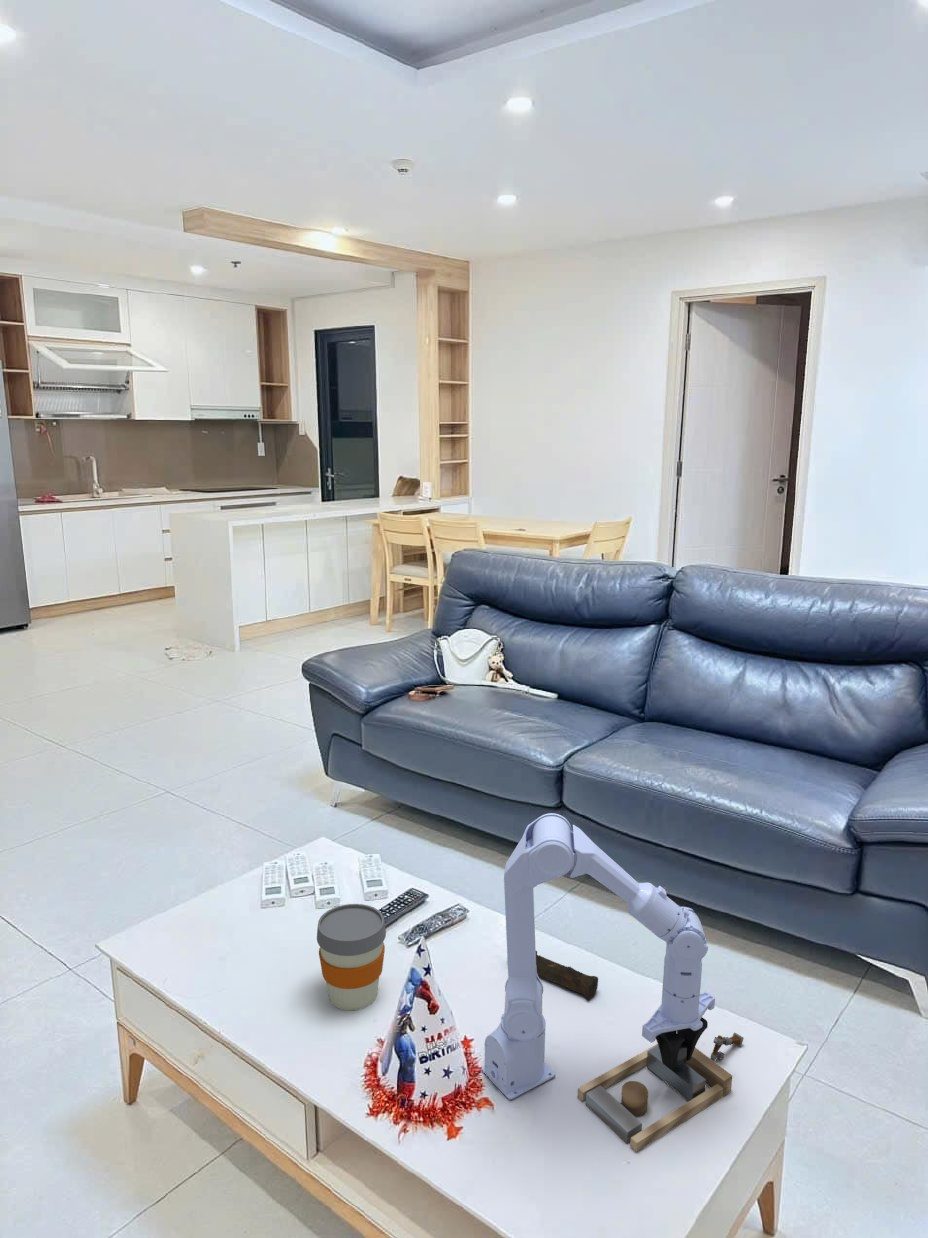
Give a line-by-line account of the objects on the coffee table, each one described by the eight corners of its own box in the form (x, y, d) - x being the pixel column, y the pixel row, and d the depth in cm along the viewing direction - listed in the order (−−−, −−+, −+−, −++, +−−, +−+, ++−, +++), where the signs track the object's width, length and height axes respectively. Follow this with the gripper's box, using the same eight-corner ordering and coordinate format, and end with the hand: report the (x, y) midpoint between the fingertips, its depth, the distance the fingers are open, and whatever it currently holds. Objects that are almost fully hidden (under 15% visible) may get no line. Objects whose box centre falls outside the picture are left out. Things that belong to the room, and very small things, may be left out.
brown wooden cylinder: (634, 1120, 131) (635, 1104, 131) (615, 1104, 135) (616, 1087, 134) (652, 1109, 133) (653, 1093, 133) (634, 1093, 137) (635, 1077, 136)
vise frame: (636, 1152, 126) (637, 1134, 125) (577, 1096, 136) (578, 1080, 135) (731, 1091, 137) (732, 1075, 136) (670, 1044, 147) (671, 1029, 147)
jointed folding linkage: (703, 1059, 143) (711, 1033, 143) (727, 1056, 148) (734, 1030, 148) (713, 1065, 141) (721, 1039, 142) (736, 1062, 147) (744, 1036, 147)
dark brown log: (599, 993, 161) (600, 970, 160) (589, 1003, 158) (590, 981, 157) (515, 955, 172) (516, 934, 171) (504, 965, 169) (504, 944, 168)
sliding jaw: (691, 1103, 134) (694, 1066, 133) (646, 1066, 142) (648, 1030, 140) (704, 1095, 136) (707, 1058, 134) (659, 1059, 144) (661, 1023, 142)
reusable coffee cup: (399, 983, 163) (398, 912, 160) (364, 1024, 152) (362, 948, 149) (342, 966, 168) (340, 896, 165) (305, 1004, 157) (302, 931, 154)
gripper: (668, 1018, 128) (663, 1096, 131) (732, 983, 136) (726, 1057, 139) (634, 992, 134) (629, 1067, 137) (697, 960, 141) (692, 1032, 145)
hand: (676, 1061), depth 138 cm, fingers closed on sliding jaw, 3 cm apart
